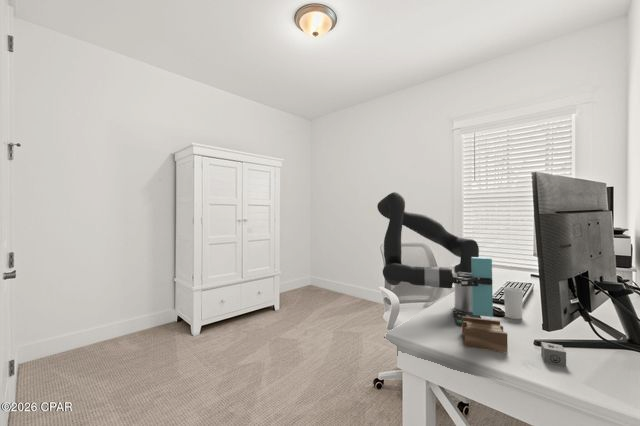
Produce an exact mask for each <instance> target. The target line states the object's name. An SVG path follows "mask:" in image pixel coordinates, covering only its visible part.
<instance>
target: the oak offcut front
mask: <svg viewBox="0 0 640 426" xmlns="http://www.w3.org/2000/svg"><path fill="white" fill-rule="evenodd" d="M467 328H475V329H483V330H490V331H498V332H504V330H503V331H502V329H494V328H486V327H478V326H470V325H467Z"/></svg>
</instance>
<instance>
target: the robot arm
mask: <svg viewBox="0 0 640 426" xmlns="http://www.w3.org/2000/svg"><path fill="white" fill-rule="evenodd" d="M405 209H406V202H405V198H404V197H403V195H402V194H400V193H399V192H396V191H394V192H390V193H388V195H386V196H385V197H384V198H382V199H381V200H380V201H379V202H378V203H377V211H378V212H379V213H380V215H381V216H383V217H384V218H386V219H387V220H389V221H388V226H387V229H386V232H385V235H384V240H383V257H384V260H385V261H384V263H385V264H384V267H383V268H382V277H384V280H385V281H386V283H387V284H389V285H390V286H398V285H400V284H401V283H402V282H403V283H409V284H411V285H412V286H420V287H421V286H422V287H424V286H425V287H428V288H429V287H430V288H438V289H452V288H453V284H454V309H455V310H456V311H459V312H471V313H472V286H479V285H480V284H483V285H492V286H493V278H492V279H491V278H479V277H472V269H471V257H480V248H479V244H478V243H477V241H476V240H474V239H472V238H464V237H460V236H456V235H454V234H453V233H450V232H449V231H447V230H446V228H445V227H444V226H443V225H442V223H440V222H438V221H437V220H435V219H434V218H432V217H431V216H428V215H426V214H421V213H414V212H409V211H406V210H405ZM403 226H404V227H406V228H407V229H409V230H411V231H413V232H415V233H416V234H419V235H420V236H421V237H423V238H425V239H427V240H429V241H431V242H432V243H435V244H437V245H439V246H441V247H443V248H444V249H445V250H447V251H448V252H450V253H451V254H453V255H454V256H456V257H459V258H460V260H459V264H455V266H454V270H453V268H452V267H446V266H445V267H444V266H443V267H442V266H411V265H407V264H403V263H402V232H403V231H402V230H403ZM473 280H475V283H474V282H472V281H473Z"/></svg>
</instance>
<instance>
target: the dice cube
mask: <svg viewBox="0 0 640 426" xmlns="http://www.w3.org/2000/svg"><path fill="white" fill-rule="evenodd" d="M540 346H541V347H540V352H541V354H540V355H541V358H542V360H543V363H545V364H550V365H556V366H560V367H565V368H566V367H567V352H566V350H565V348H564V347H563V345H562V344H555V343H551V342H544V341H540Z"/></svg>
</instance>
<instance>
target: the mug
mask: <svg viewBox="0 0 640 426" xmlns="http://www.w3.org/2000/svg"><path fill="white" fill-rule="evenodd" d="M523 293H524V291H523V289H521V288H519V287H518V288H517V287H511V286H508V287H507V286H506V287H503V294H504V295H503V296H504V297H503V298H504V315H505V317H506V318H509V319H512V320H521V319H522V320H523V298H524V297H523V296H524V294H523Z"/></svg>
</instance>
